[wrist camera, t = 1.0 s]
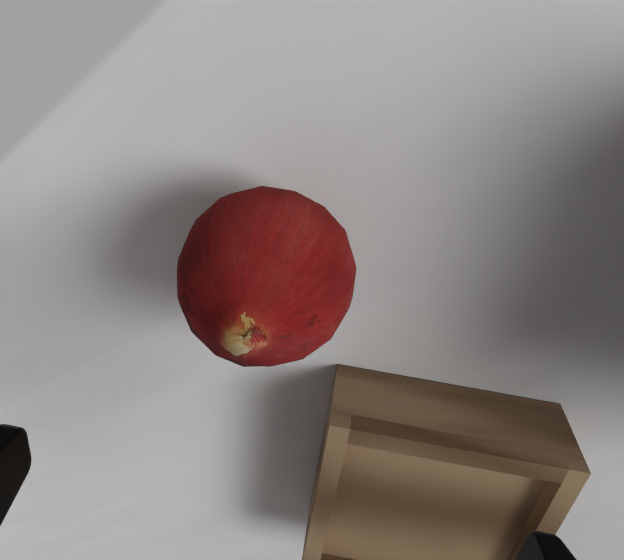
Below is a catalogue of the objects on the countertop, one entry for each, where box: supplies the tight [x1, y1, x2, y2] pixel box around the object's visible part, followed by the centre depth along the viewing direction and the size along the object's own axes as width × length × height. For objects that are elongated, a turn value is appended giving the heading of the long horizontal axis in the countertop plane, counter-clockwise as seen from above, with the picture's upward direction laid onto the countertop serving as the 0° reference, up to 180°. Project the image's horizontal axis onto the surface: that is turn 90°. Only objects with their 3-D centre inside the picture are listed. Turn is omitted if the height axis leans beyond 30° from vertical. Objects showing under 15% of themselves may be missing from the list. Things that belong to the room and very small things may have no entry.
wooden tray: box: [302, 364, 591, 560], centre depth 24 cm, size 10×10×4 cm
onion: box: [177, 186, 356, 367], centre depth 17 cm, size 6×6×8 cm
